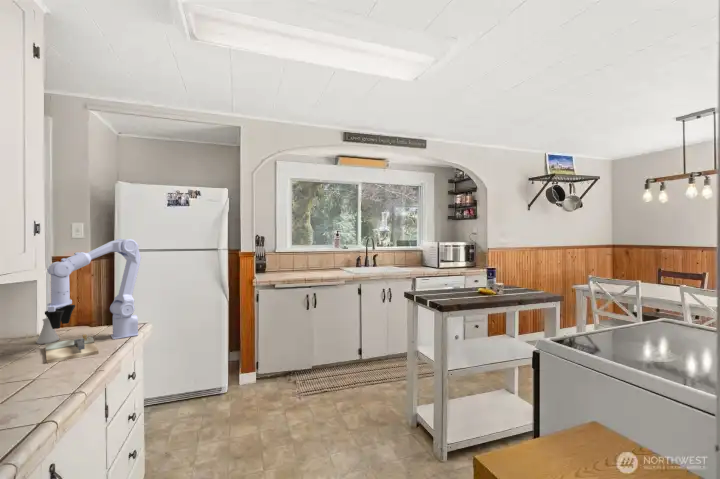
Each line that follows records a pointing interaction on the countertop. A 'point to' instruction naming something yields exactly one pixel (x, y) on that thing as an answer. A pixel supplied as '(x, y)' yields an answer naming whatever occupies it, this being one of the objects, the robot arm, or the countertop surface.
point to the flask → (47, 333)
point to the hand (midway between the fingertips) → (60, 325)
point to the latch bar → (79, 343)
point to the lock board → (69, 350)
